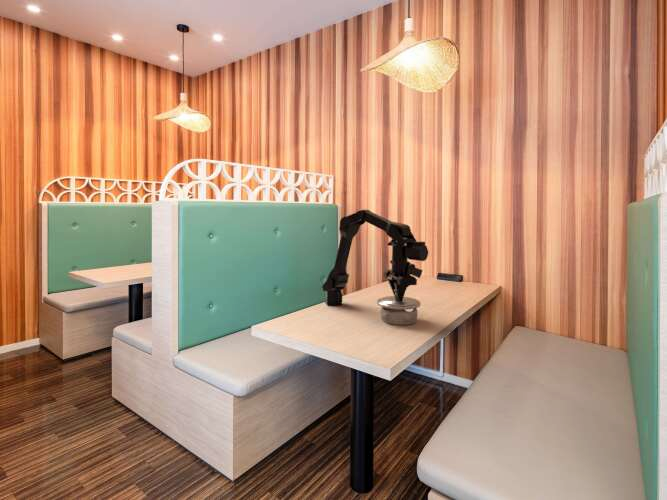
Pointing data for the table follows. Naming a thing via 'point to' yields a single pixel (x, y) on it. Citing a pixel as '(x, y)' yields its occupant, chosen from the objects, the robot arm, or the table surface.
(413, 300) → the lid
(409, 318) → the dish
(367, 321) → the table surface
